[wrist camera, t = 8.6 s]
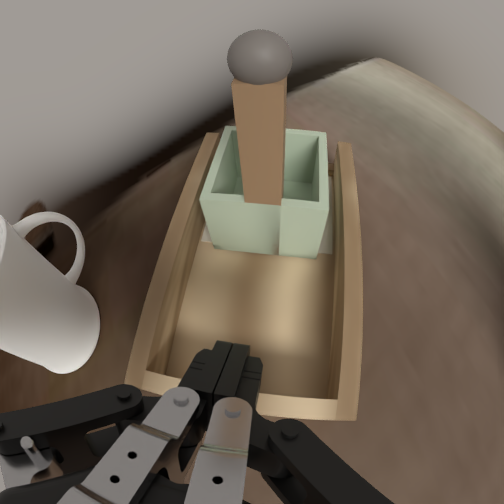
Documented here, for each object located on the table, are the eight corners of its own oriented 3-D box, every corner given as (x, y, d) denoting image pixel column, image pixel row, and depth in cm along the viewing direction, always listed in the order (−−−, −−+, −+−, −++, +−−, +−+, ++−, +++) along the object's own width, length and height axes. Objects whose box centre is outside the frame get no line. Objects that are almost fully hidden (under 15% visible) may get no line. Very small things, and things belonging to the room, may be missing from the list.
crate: (318, 183, 26) (339, 11, 12) (315, 262, 22) (362, 49, 8) (233, 176, 27) (209, 8, 13) (213, 252, 23) (155, 48, 9)
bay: (342, 179, 28) (350, 143, 24) (336, 418, 17) (356, 420, 13) (213, 168, 30) (206, 132, 26) (152, 390, 19) (123, 383, 15)
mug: (95, 246, 26) (29, 160, 15) (144, 301, 23) (63, 212, 12) (23, 326, 21) (-62, 270, 11) (59, 393, 18) (-50, 357, 8)
